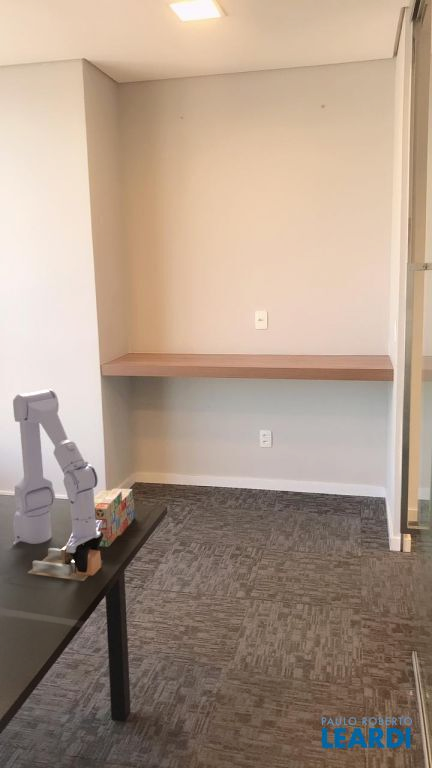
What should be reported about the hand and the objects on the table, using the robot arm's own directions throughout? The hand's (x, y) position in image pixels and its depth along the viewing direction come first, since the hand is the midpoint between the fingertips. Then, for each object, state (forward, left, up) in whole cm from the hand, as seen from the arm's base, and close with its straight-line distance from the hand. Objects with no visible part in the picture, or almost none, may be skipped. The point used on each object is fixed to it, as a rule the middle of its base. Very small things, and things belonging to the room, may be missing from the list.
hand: (87, 566), depth 156 cm
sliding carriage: (-4, 0, 0) cm, 4 cm away
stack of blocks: (-5, +23, -2) cm, 23 cm away
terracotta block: (0, 0, -1) cm, 1 cm away
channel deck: (-6, 0, -2) cm, 6 cm away
